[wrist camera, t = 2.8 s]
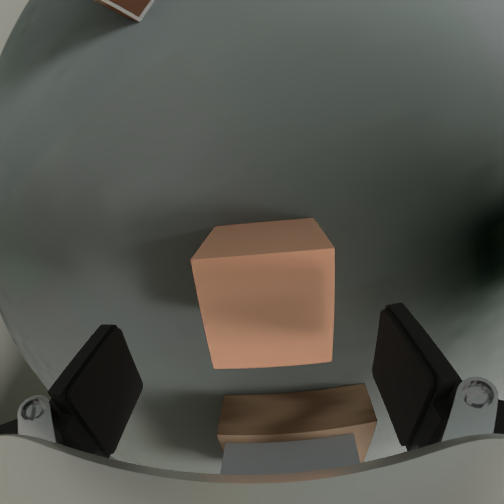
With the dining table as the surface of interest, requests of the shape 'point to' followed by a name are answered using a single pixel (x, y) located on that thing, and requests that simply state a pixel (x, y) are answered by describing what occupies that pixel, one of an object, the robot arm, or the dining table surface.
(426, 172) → the dining table surface
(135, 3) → the food container
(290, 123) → the dining table surface
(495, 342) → the dining table surface
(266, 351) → the terracotta cube
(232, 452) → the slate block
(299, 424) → the walnut slab
